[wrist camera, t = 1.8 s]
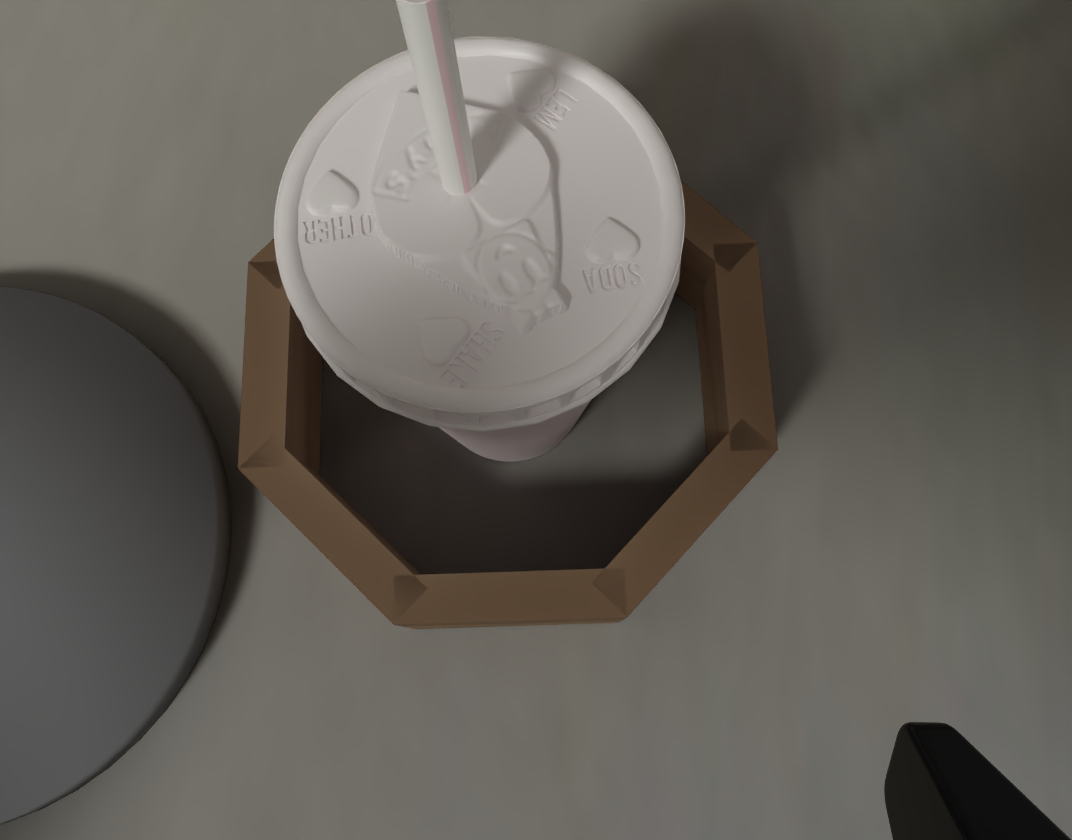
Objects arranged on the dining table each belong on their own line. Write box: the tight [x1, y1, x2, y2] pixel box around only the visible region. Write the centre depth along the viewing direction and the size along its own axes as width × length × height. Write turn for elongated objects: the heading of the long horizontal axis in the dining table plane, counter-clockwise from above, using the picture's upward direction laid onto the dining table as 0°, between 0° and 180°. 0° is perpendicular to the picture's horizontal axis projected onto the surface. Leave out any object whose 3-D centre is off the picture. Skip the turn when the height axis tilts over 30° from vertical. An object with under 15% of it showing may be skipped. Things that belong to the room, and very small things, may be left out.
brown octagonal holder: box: [238, 181, 778, 629], centre depth 22 cm, size 12×12×3 cm
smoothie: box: [274, 0, 685, 462], centre depth 17 cm, size 6×6×14 cm
